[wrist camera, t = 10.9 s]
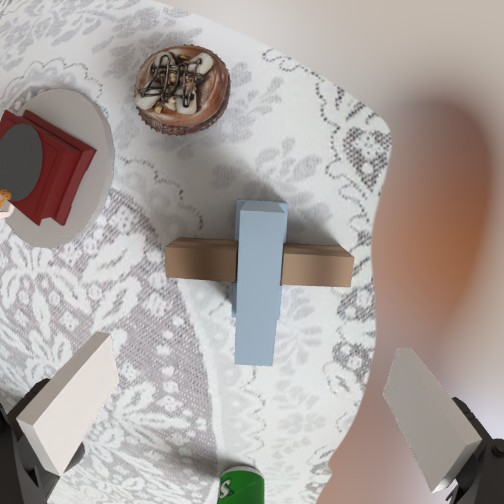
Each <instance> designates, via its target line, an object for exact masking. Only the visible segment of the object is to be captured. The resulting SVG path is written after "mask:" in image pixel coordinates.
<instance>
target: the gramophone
mask: <svg viewBox="0 0 504 504" xmlns="http://www.w3.org/2000/svg"><path fill="white" fill-rule="evenodd" d="M114 159H115V148H114V143H113V138H112V133H111V128H110V125H109V123H108V121H107V119H106V118H105V116H104V114H103V112H102V110H101V109H100V107H99V106H98V105H97V104H95V103H94V102H93V101H92V100H90V99H89V98H88V97H87V96H85V95H84V94H81V93H79V92H76V91H72V90H67V89H62V88H57V89H53V90H48V91H44V92H41V93H40V94H38V95H36V96H35V97H33V98H32V99H30V100H29V101H28V102H26V103H25V104H24V105H23V106H22V107H21V109H20V110H19V111H18V112H17V113H16V114H15V115H14V114H13V113H11V112H9V111H8V110H5V111H4V114H3V116H2V119H1V121H0V209H1V211H0V219H2V218H5V220H6V222H7V224H8V225H9V226H10V228H11V229H12V230H13V231H14V232H15V234H16V235H17V236H18V237H19V238H20V239H22V240H24V241H25V242H27V243H29V244H30V245H32V246H34V247H42V248H54V247H57V246H59V245H62V244H65V243H68V242H71V241H73V240H76V239H77V238H78V237H80V236H81V235H82V234H83V233H84V232H85V231H87V230H88V229H89V228H90V227H91V226H92V225H93V224H94V222H95V220H96V219H97V217H98V215H99V214H100V212H101V211H102V209H103V207H104V206H105V204H106V201H107V197H108V194H109V191H110V187H111V184H112V181H113V175H114Z"/></svg>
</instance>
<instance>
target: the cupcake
mask: <svg viewBox="0 0 504 504" xmlns="http://www.w3.org/2000/svg"><path fill="white" fill-rule="evenodd" d="M228 71H229V70H228V69H226V65H225V63H224V62H223V61H221V58H219V57H218V56H217V54H214V53H213V51H210V50H208V49H205V48H203V47H200V46H194V45H193V44H191V45H183V46H174V47H170V48H166V49H163V50H161V51H158V52H157V53H155V54H153V55H151V56H150V57H149V58H148V59H147V60H146V61H145V62H144V64H143V65H142V67H141V69H140V71H139V73H138V76H137V80H136V85H135V87H136V88H135V91H134V92H135V95H134V97H135V100H134V103H135V104H136V105H137V106H136V109H138V110H139V114H138V115H141V117H142V120H141V121H145V125H149V126H151V129H155V130H156V132H160V131H161V132H162V134H168V135H169V136H170V135H176V136H178V135H185V134H188V133H194V132H197V131H201V130H204V129H207V128H208V127H209V126H211V125H212V124H213V123H215V122H216V121H217V119H219V118H220V117H221V116H222V114H223V113H224V111H225V109H226V107H227V104H228V100H229V97H230V84H231V82H232V81H231V80H230V74H229V73H228Z"/></svg>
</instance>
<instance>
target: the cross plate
mask: <svg viewBox="0 0 504 504" xmlns="http://www.w3.org/2000/svg"><path fill="white" fill-rule="evenodd" d="M287 216H288V204H287V203H286V202H278V201H261V200H242V199H238V200H237V201H236V210H235V234H234V240H237V241H239V253H238V274H237V276H236V280H235V282H233V288H232V317H236V334H235V364H241V365H258V366H272V364H273V355H274V344H275V334H276V323H277V320H279V316H280V306H281V294H282V284H281V279H280V277H281V264H282V251H283V243H286V231H287Z"/></svg>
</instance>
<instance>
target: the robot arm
mask: <svg viewBox="0 0 504 504" xmlns="http://www.w3.org/2000/svg"><path fill="white" fill-rule="evenodd" d="M118 383H119V377H118V372H117V367H116V361H115V356H114V350H113V344H112V338H111V334H109V333H103V332H96V333H95V334H94V335H93V336H92V337H91V338H90V339H89V340H88V341H87V342H86V343H85V344H84V345H83V346H82V347H81V348H80V349H79V350H78V351H77V352H76V353H75V354H74V356H73V357H72V358H71V359H70V360H69V361H68V362H67V363H66V364H65V365H64V366H63V367H62V368H61V369H60V370H59V371H58V372H57V373H56V375H55V376H54V377H53V378H52V379H48V378H45V379H43V380H42V381H40V382H38V383H36V384H35V385H34V386H33V387H32V388H31V390H30V392H28V393H27V394H26V395H25V396H24V398H22V399H21V400H20V401H19V402H18V403H17V404H16V406H15V407H14V408H13V409H12V410H11V411H10V412H9V413H8V414H7V415H6V413H5V410H4V408H3V406H2V404H1V403H0V504H47V500H48V498H49V496H50V495H51V493H52V491H53V489H54V487H55V486H56V484H57V482H58V480H59V479H60V477H61V476H62V474H64V473H65V472H67V471H68V470H69V469H71V468H72V467H74V466H75V465H76V464H78V463H79V462H80V461H81V459H82V457H83V455H84V453H85V449H84V445H83V443H82V440H83V439H84V437H85V436H86V434H87V432H88V431H89V429H90V427H91V426H92V424H93V422H94V421H95V419H96V418H97V416H98V414H99V413H100V411H101V410H102V408H103V406H104V405H105V403H106V402H107V400H108V398H109V397H110V395H111V394H112V392H113V391H114V389H115V387H116V386H117V384H118ZM383 396H384V398H385V400H386V402H387V404H388V406H389V408H390V410H391V411H392V413H393V415H394V417H395V419H396V421H397V423H398V425H399V427H400V429H401V431H402V433H403V435H404V437H405V439H406V441H407V443H408V445H409V447H410V449H411V451H412V453H413V455H414V457H415V459H416V461H417V463H418V465H419V467H420V469H421V471H422V473H423V475H424V478H425V479H426V482H427V484H428V486H429V488H430V490H431V492H432V493H433V492H436V491H439V490H442V489H445V488H448V487H449V485H450V484H451V483H452V482H453V480H454V479H456V480H457V482H458V485H457V486H456V487H455V488H454V490H453V491H452V492H451V493H450V494H449V495H448V497H447V498H446V501H448V499H449V498H450V497H451V496H452V498H451V501H450V503H449V504H504V440H503V439H492V438H491V436H490V435H489V434H488V432H487V431H486V430H485V428H484V427H483V426H482V424H481V423H480V422H479V421H478V419H477V418H475V416H474V414H473V413H472V412H471V411H470V409H469V408H468V407H467V405H466V404H465V403H464V402H462V401H461V400H459V399H458V398H456V397H454V398H451V397H450V396H449V395H448V393H447V392H446V391H445V389H444V388H443V387H442V386H441V384H440V383H439V382H438V381H437V379H436V378H435V377H434V376H433V374H432V373H431V372H430V371H429V369H428V368H427V367H426V366H425V365H424V363H423V362H422V361H421V360H420V358H419V357H418V356H417V355H416V354H415V352H414V351H413V350H412V349H411V348H410V347H408V348H397V349H396V352H395V356H394V359H393V363H392V366H391V369H390V372H389V376H388V379H387V382H386V385H385V388H384V391H383Z"/></svg>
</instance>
